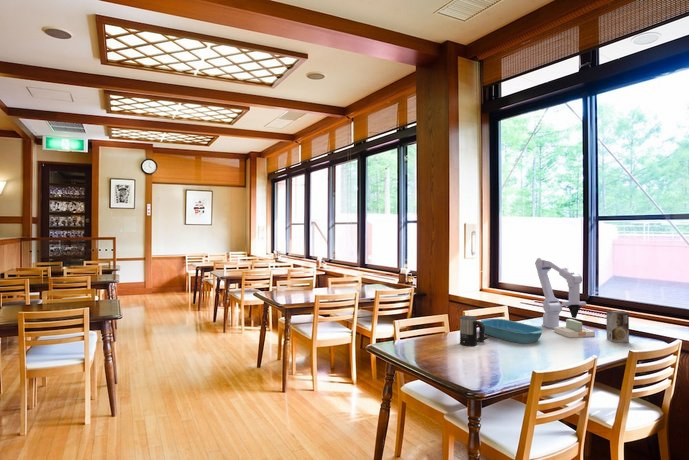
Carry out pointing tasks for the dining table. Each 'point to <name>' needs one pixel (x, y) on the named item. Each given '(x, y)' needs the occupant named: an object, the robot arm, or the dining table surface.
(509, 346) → the dining table surface
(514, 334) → the casserole dish
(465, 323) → the milk frother
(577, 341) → the dining table surface
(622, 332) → the coffee box
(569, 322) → the blanking panel
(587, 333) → the slot rack
